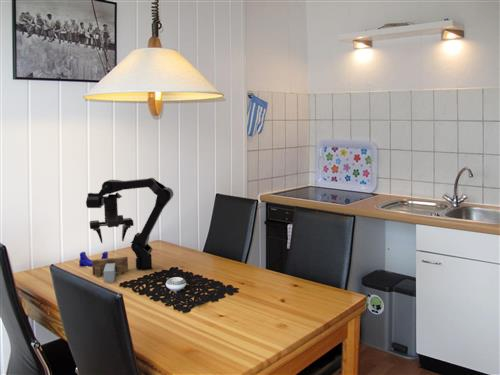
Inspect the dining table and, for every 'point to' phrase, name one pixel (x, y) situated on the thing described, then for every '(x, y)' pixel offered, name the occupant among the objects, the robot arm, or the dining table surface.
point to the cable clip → (86, 261)
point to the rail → (109, 272)
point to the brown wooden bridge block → (99, 264)
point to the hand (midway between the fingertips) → (112, 242)
